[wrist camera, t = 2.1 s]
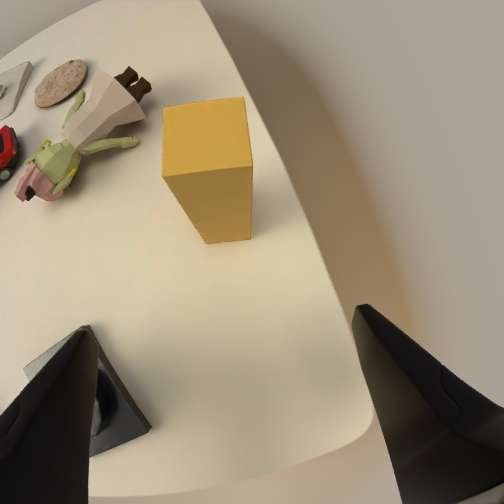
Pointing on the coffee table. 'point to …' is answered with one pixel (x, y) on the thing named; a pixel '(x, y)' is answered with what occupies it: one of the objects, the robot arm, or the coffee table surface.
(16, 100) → the miniature house
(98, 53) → the coffee table surface
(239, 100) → the yellow rectangular block
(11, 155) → the toy car
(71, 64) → the flatbread
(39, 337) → the coffee table surface
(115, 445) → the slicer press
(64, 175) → the figurine
